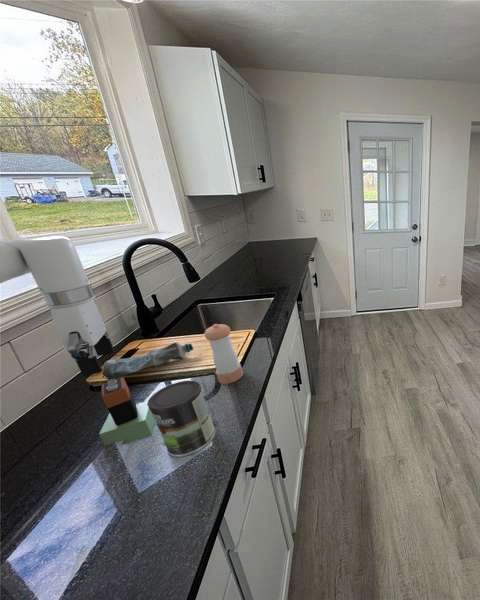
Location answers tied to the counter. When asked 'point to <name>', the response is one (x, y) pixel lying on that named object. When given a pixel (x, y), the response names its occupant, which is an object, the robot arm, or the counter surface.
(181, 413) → the coffee can
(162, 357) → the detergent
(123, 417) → the battery
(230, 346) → the pepper shaker
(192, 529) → the counter surface
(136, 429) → the block
